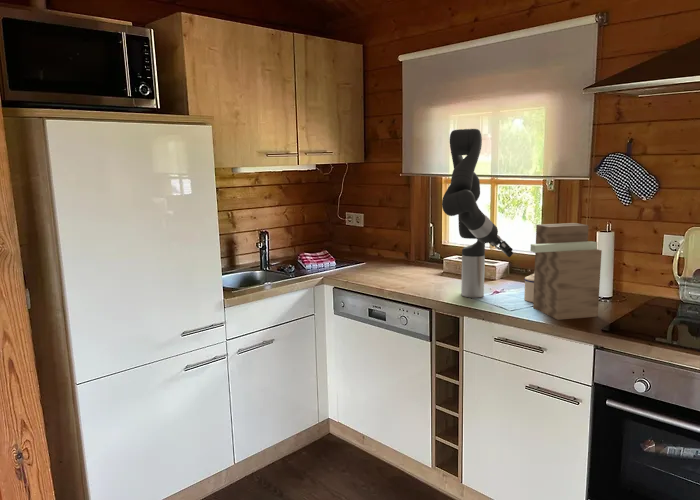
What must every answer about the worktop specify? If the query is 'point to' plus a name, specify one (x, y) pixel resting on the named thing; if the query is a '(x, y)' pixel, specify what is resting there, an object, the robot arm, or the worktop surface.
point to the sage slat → (563, 246)
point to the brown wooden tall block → (566, 274)
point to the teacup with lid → (529, 288)
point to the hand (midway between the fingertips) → (502, 249)
